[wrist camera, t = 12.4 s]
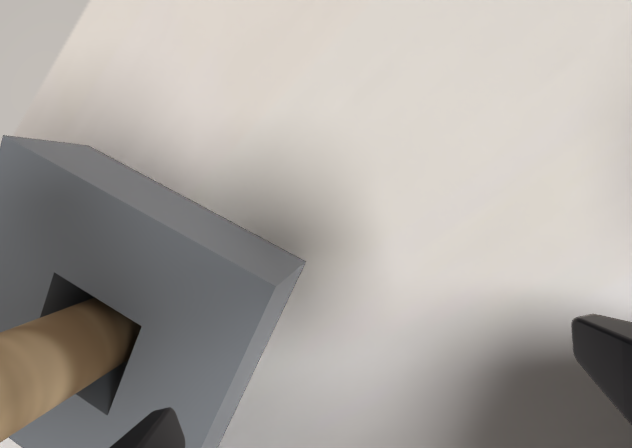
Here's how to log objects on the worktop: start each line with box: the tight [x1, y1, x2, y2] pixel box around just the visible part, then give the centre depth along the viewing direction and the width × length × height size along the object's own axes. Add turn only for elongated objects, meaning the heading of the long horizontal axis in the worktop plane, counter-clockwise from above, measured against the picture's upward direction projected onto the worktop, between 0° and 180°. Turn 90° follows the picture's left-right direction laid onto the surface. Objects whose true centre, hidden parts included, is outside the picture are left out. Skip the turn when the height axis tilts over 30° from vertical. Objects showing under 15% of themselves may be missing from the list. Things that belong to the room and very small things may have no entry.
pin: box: [0, 297, 142, 442], centre depth 16 cm, size 4×4×13 cm
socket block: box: [0, 135, 306, 448], centre depth 20 cm, size 16×16×5 cm
